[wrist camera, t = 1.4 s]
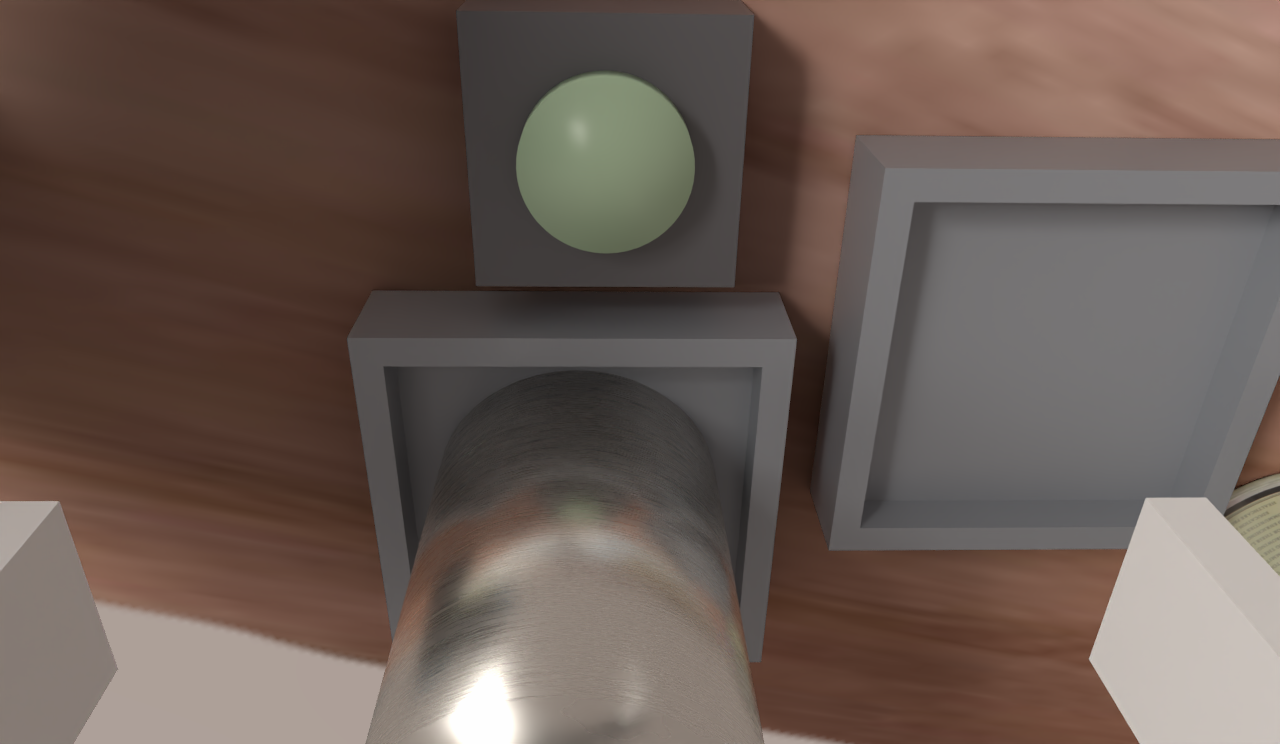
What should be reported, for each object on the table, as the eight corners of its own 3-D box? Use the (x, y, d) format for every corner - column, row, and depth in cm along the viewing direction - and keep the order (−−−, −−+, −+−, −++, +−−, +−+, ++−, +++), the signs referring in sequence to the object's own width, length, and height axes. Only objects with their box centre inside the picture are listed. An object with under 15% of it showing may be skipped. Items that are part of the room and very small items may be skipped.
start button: (470, -5, 28) (450, 16, 24) (740, -1, 28) (759, 20, 24) (487, 249, 31) (471, 299, 28) (723, 251, 32) (738, 300, 28)
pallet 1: (372, 290, 32) (346, 338, 29) (778, 292, 32) (796, 339, 29) (413, 599, 39) (395, 665, 36) (748, 597, 39) (760, 662, 36)
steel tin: (426, 370, 31) (312, 701, 19) (724, 370, 32) (800, 694, 19) (450, 597, 36) (371, 977, 24) (708, 594, 36) (761, 968, 24)
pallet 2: (856, 134, 30) (885, 168, 27) (1282, 139, 30) (1360, 172, 27) (809, 490, 37) (828, 550, 34) (1159, 489, 37) (1210, 548, 34)
